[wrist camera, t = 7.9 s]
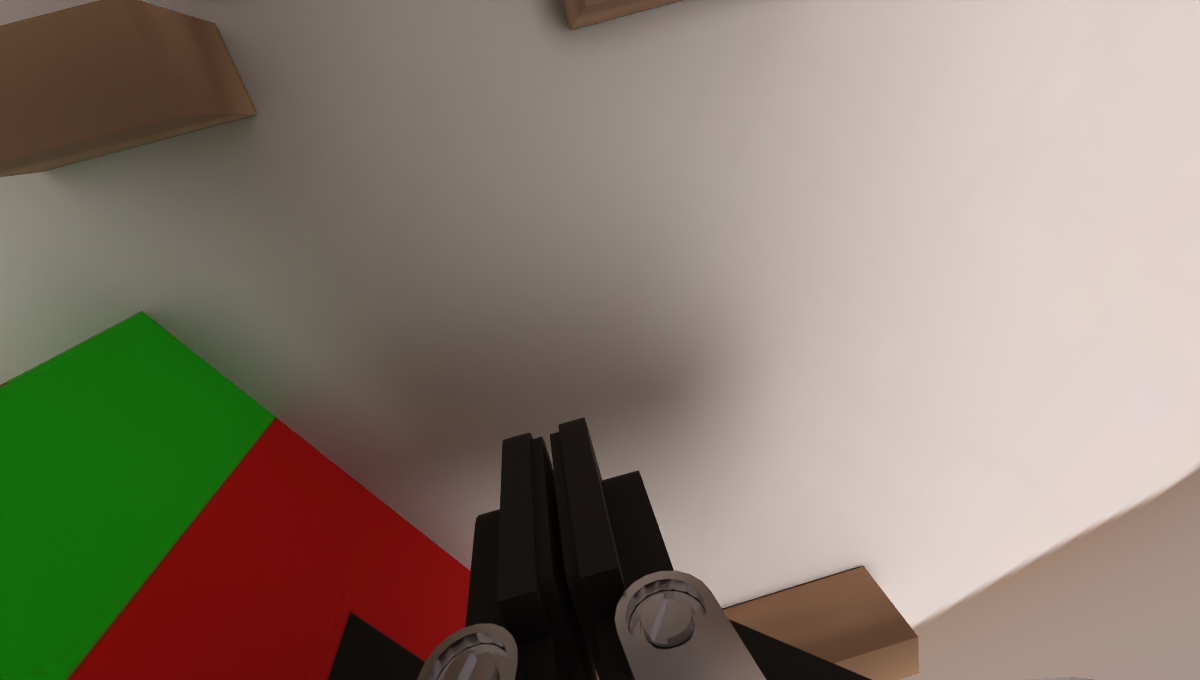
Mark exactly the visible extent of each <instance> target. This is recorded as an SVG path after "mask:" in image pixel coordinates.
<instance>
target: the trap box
mask: <svg viewBox="0 0 1200 680" xmlns="http://www.w3.org/2000/svg"><path fill="white" fill-rule="evenodd" d="M678 1H682V0H563V3H564V7H565V12H566V16H567V20H568V24H569V28H570V30H573V29H577V28H581V27H584V26H588V25H592V24H596V23H599V22H603V21H607V20H611V19H614V18H618V17H622V16H626V15H629V14H633V13H637V12H641V11H644V10H648V9H652V8H655V7H659V6H663V5H667V4H670V3H674V2H678ZM256 114H257V113H256V111H255V109H254V107H253V105H252V102H251V100H250V98H249V96H248V94H247V92H246V90H245V87H244V85H243V83H242V81H241V79H240V77H239V75H238V72H237V70H236V68H235V66H234V64H233V62H232V60H231V57H230V55H229V53H228V51H227V49H226V47H225V45H224V42H223V40H222V38H221V36H220V34H219V32H218V30H217V27H216V25H215V24H214V23H211V22H208V21H204V20H201V19H198V18H194V17H191V16H188V15H185V14H181V13H178V12H175V11H171V10H168V9H165V8H161V7H158V6H155V5H152V4H148V3H145V2H142V1H138V0H99V1H95V2H91V3H88V4H84V5H80V6H76V7H72V8H68V9H64V10H60V11H57V12H53V13H49V14H45V15H41V16H37V17H33V18H29V19H25V20H22V21H18V22H14V23H10V24H6V25H2V26H0V177H4V176H12V175H20V174H29V173H37V172H43V171H47V170H50V169H54V168H58V167H62V166H65V165H69V164H73V163H77V162H80V161H84V160H88V159H92V158H95V157H99V156H103V155H106V154H110V153H114V152H118V151H121V150H125V149H129V148H133V147H136V146H140V145H144V144H148V143H151V142H155V141H159V140H162V139H166V138H170V137H174V136H177V135H181V134H185V133H189V132H192V131H196V130H200V129H204V128H207V127H211V126H215V125H218V124H222V123H226V122H230V121H233V120H237V119H241V118H245V117H248V116H252V115H256ZM723 611H724V613H725V615H726V616H727V618H728V619H730V620H733V621H735V622H737V623H740V624H742V625H744V626H747V627H749V628H751V629H754V630H756V631H758V632H761V633H763V634H766V635H768V636H770V637H773V638H775V639H777V640H780V641H782V642H784V643H787V644H789V645H791V646H794V647H796V648H798V649H801V650H803V651H806V652H808V653H810V654H813V655H815V656H817V657H820V658H822V659H824V660H827V661H829V662H831V663H834V664H836V665H839V666H841V667H843V668H846V669H848V670H850V671H853V672H855V673H857V674H860V675H862V676H864V677H867V678H869V679H872V680H899V679H902V678H905V677H908V676H912V675H915V674H917V673H919V663H918V636H917V635H916V634H915V632H914V631H913V630H912V628H911V627H910V626H909V624H908V623H907V622H906V621H905V619H904V618H903V617H902V615H901V614H900V613H899V611H898V610H897V609H896V608H895V606H894V605H893V604H892V602H891V601H890V600H889V599H888V597H887V596H886V595H885V593H884V592H883V591H882V589H881V588H880V587H879V586H878V584H877V583H876V582H875V580H874V579H873V578H872V577H871V575H870V574H869V573H868V571H867V570H866V569H865V567H864V566H863V567H859V568H856V569H853V570H850V571H846V572H843V573H840V574H837V575H833V576H830V577H827V578H824V579H821V580H817V581H814V582H811V583H808V584H804V585H801V586H798V587H795V588H791V589H788V590H785V591H782V592H778V593H775V594H772V595H769V596H765V597H762V598H759V599H756V600H753V601H749V602H746V603H743V604H740V605H736V606H733V607H730V608H727V609H723ZM596 675H597V680H599V677H598V674H597V671H596Z"/></svg>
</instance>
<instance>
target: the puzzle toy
mask: <svg viewBox="0 0 1200 680" xmlns="http://www.w3.org/2000/svg"><path fill="white" fill-rule="evenodd" d="M470 573H471V571H469V570H468V569H467V568H465V567H464V566H463V565H462V564H460V563H459V562H458V561H457V560H455V559H454V558H453V557H452V556H450V555H449V554H448V553H446V552H445V551H444V550H443V549H441V548H440V547H439V546H438V545H436V544H435V543H434V542H433V541H431V540H430V539H429V538H428V537H426V536H425V535H424V534H422V533H421V532H420V531H419V530H417V529H416V528H415V527H414V526H412V525H411V524H410V523H409V522H407V521H406V520H405V519H403V518H402V517H401V516H400V515H398V514H397V513H396V512H395V511H393V510H392V509H391V508H390V507H388V506H387V505H386V504H385V503H383V502H382V501H381V500H379V499H378V498H377V497H376V496H374V495H373V494H372V493H371V492H369V491H368V490H367V489H366V488H364V487H363V486H362V485H360V484H359V483H358V482H357V481H355V480H354V479H353V478H352V477H350V476H349V475H348V474H347V473H345V472H344V471H343V470H342V469H340V468H339V467H338V466H336V465H335V464H334V463H333V462H331V461H330V460H329V459H328V458H326V457H325V456H324V455H323V454H321V453H320V452H319V451H317V450H316V449H315V448H314V447H312V446H311V445H310V444H309V443H307V442H306V441H305V440H304V439H302V438H301V437H300V436H299V435H297V434H296V433H295V432H293V431H292V430H291V429H290V428H288V427H287V426H286V425H285V424H283V423H282V422H281V421H280V420H278V419H277V418H276V417H274V416H273V415H272V414H271V413H269V412H268V411H267V410H266V409H264V408H263V407H262V406H261V405H259V404H258V403H257V402H256V401H254V400H253V399H252V398H250V397H249V396H248V395H247V394H245V393H244V392H243V391H242V390H240V389H239V388H238V387H237V386H235V385H234V384H233V383H231V382H230V381H229V380H228V379H226V378H225V377H224V376H223V375H221V374H220V373H219V372H218V371H216V370H215V369H214V368H213V367H211V366H210V365H209V364H207V363H206V362H205V361H204V360H202V359H201V358H200V357H199V356H197V355H196V354H195V353H194V352H192V351H191V350H190V349H188V348H187V347H186V346H185V345H183V344H182V343H181V342H180V341H178V340H177V339H176V338H175V337H173V336H172V335H171V334H170V333H168V332H167V331H166V330H164V329H163V328H162V327H161V326H159V325H158V324H157V323H156V322H154V321H153V320H152V319H151V318H149V317H148V316H147V315H145V314H144V313H143V312H142V311H141V312H139V313H137V314H135V315H133V316H132V317H130V318H128V319H126V320H124V321H122V322H120V323H118V324H116V325H114V326H112V327H111V328H109V329H107V330H105V331H103V332H101V333H99V334H97V335H95V336H93V337H91V338H90V339H88V340H86V341H84V342H82V343H80V344H78V345H76V346H74V347H72V348H70V349H69V350H67V351H65V352H63V353H61V354H59V355H57V356H55V357H53V358H51V359H49V360H47V361H46V362H44V363H42V364H40V365H38V366H36V367H34V368H32V369H30V370H28V371H26V372H25V373H23V374H21V375H19V376H17V377H15V378H13V379H11V380H9V381H7V382H5V383H4V384H2V385H0V680H417V679H418V676H419V674H420V672H421V670H422V667H423V665H424V663H425V661H426V660H427V659H428V657H429V656H430V655H431V653H432V652H433V651H434V649H435V648H436V647H437V646H438V645H439V644H441V643H442V642H443V641H444V640H445V639H446V638H447V637H449V636H450V635H452V634H454V633H456V632H457V631H459V630H461V629H463V628H465V624H466V614H467V604H468V594H469V583H470Z"/></svg>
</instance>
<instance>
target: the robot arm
mask: <svg viewBox="0 0 1200 680" xmlns="http://www.w3.org/2000/svg"><path fill="white" fill-rule="evenodd" d="M550 441H551V450H552V459H553V467H552V464H551V461H550V458H549V455H548V452H547V449H546V446H545V442H544V440H543V438H542V437H539V438H535V439H533V437H532V435H531V433H526V434H523V435H519V436H515V437H512V438H508V439H504V440H503V444H502V470H501V496H500V509H499V510H495V511H492V512H488V513H485V514H481V515H478V517H477V518H476V523H475V532H474V542H473V552H472V563H471V573H470V583H469V594H468V604H467V614H466V624H465V628H463V629H461V630H459V631H457V632H456V633H454V634H452V635H450V636H449V637H447V638H446V639H445V640H444V641H443V642H442V643H441V644H439V645H438V646H437V647H436V648H435V649H434V651H433V652H432V653H431V655H430V656H429V657H428V659H427V660H426V661H425V663H424V665H423V667H422V670H421V672H420V674H419V676H418V679H417V680H597V675H596V671H597V674H598V677H599V680H872V679H869V678H867V677H864V676H862V675H860V674H857V673H855V672H853V671H850V670H848V669H846V668H843V667H841V666H839V665H836V664H834V663H831V662H829V661H827V660H824V659H822V658H820V657H817V656H815V655H813V654H810V653H808V652H806V651H803V650H801V649H798V648H796V647H794V646H791V645H789V644H787V643H784V642H782V641H780V640H777V639H775V638H773V637H770V636H768V635H766V634H763V633H761V632H758V631H756V630H754V629H751V628H749V627H747V626H744V625H742V624H740V623H737V622H735V621H733V620H730V619H728V618H727V616H726V615H725V613H724V611H723V610H722V608H721V607H720V605H719V603H718V602H717V600H716V599H715V597H714V595H713V594H712V592H711V591H710V590H709V589H708V588H707V586H706V585H705V584H704V583H703V582H702V581H701V580H699V579H697V578H695V577H694V576H692V575H690V574H687V573H683V572H679V571H674V570H673V567H672V564H671V561H670V558H669V555H668V553H667V550H666V547H665V544H664V541H663V538H662V535H661V532H660V530H659V527H658V524H657V521H656V518H655V515H654V512H653V509H652V507H651V504H650V501H649V498H648V495H647V492H646V489H645V487H644V484H643V481H642V478H641V475H640V473H639V471H635V472H631V473H627V474H624V475H620V476H617V477H613V478H610V479H606V480H602V478H601V474H600V470H599V467H598V463H597V460H596V456H595V452H594V449H593V445H592V442H591V438H590V435H589V431H588V427H587V424H586V420H585V417H584V418H581V419H577V420H573V421H570V422H566V423H563V424H559V432H557V433H553V434H550ZM553 469H554V470H553ZM1028 680H1092V679H1083V678H1074V677H1072V678H1051V679H1028Z"/></svg>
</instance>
